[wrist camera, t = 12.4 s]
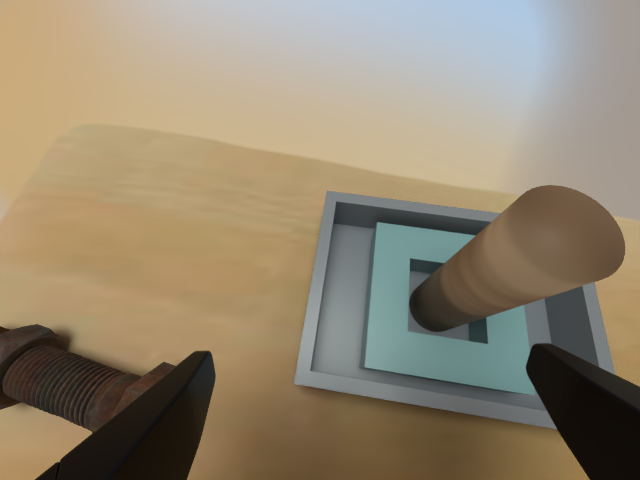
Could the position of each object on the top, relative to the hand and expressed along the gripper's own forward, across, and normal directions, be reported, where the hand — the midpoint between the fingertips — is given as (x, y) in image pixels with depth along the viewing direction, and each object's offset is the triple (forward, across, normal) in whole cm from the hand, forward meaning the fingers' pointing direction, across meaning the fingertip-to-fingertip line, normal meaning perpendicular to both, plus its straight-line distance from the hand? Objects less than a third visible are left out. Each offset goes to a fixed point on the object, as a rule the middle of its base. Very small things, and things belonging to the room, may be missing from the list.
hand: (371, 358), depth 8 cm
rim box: (+12, -7, +7) cm, 16 cm away
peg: (+12, -7, +6) cm, 15 cm away
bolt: (+10, +18, +10) cm, 23 cm away
